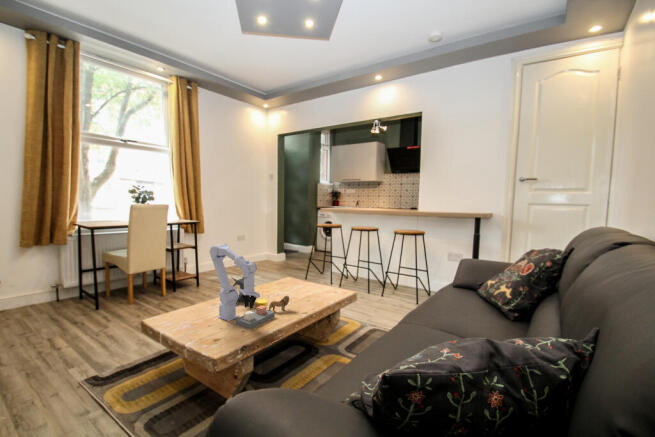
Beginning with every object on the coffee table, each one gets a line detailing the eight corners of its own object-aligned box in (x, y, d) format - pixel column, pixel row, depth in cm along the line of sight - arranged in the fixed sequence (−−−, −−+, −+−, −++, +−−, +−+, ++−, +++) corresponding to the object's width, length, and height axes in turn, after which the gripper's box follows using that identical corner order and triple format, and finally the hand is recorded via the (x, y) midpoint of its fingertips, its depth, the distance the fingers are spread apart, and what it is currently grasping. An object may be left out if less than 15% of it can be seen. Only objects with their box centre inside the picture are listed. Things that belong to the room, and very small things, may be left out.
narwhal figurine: (255, 304, 202) (255, 278, 200) (231, 307, 196) (231, 280, 195) (252, 297, 215) (252, 273, 213) (229, 300, 209) (229, 274, 208)
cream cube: (244, 319, 172) (244, 313, 171) (249, 317, 175) (249, 310, 175) (249, 321, 170) (249, 314, 169) (254, 319, 173) (254, 312, 173)
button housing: (235, 324, 171) (234, 319, 171) (259, 312, 188) (259, 308, 188) (250, 329, 165) (250, 324, 165) (274, 317, 182) (274, 312, 182)
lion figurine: (287, 307, 198) (287, 294, 198) (290, 310, 194) (290, 296, 193) (265, 311, 191) (265, 297, 190) (268, 314, 186) (268, 300, 186)
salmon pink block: (256, 314, 180) (256, 307, 180) (261, 311, 184) (261, 305, 183) (261, 315, 178) (261, 308, 178) (266, 313, 182) (266, 306, 181)
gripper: (234, 283, 171) (234, 307, 172) (253, 288, 164) (253, 312, 165) (243, 280, 177) (243, 303, 178) (262, 285, 170) (262, 308, 171)
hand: (249, 307), depth 172 cm, fingers open, 3 cm apart
